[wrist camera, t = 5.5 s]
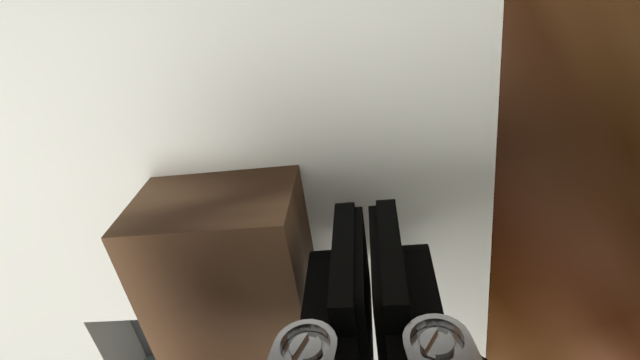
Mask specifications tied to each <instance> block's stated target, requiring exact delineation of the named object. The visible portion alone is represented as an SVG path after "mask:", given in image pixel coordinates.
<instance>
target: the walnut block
mask: <svg viewBox="0 0 640 360" xmlns="http://www.w3.org/2000/svg"><path fill="white" fill-rule="evenodd" d="M101 240H102V242H103V244H104V247H105V249H106V251H107V253H108V256H109V258H110V260H111V262H112V264H113V267H114V269H115V271H116V273H117V275H118V278H119V280H120V282H121V284H122V286H123V289H124V291H125V293H126V295H127V298H128V300H129V302H130V304H131V306H132V309H133V311H134V313H135V315H136V317H137V320H138V322H139V324H140V326H141V328H142V331H143V333H144V335H145V337H146V340H147V342H148V344H149V346H150V348H151V351H152V353H153V355H154V357H155V359H156V360H267V358H268V356H269V353H270V350H271V348H272V345H273V342H274V340H275V338H276V337H277V335H278V333H279V332H280V331H281V330H282V329H283V328H284V327H286V326H287V325H289V324H291V323H293V322H295V321H299V320H300V316H301V309H302V302H303V295H304V288H305V281H306V274H307V267H308V260H309V254H310V252H311V251H314V248H313V243H312V237H311V231H310V226H309V220H308V214H307V208H306V203H305V197H304V191H303V186H302V180H301V174H300V169H299V165H290V166H278V167H266V168H255V169H243V170H231V171H220V172H208V173H196V174H185V175H173V176H161V177H150V178H149V179H148V181H147V182H146V183H145V184H144V186H143V187H142V188H141V189H140V191H139V192H138V193H137V194H136V195H135V197H134V198H133V199H132V200H131V202H130V203H129V204H128V205H127V207H126V208H125V209H124V210H123V211H122V213H121V214H120V215H119V216H118V218H117V219H116V220H115V221H114V222H113V224H112V225H111V226H110V227H109V229H108V230H107V231H106V232H105V234H104V235H103V236H102V237H101Z"/></svg>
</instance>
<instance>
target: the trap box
mask: <svg viewBox="0 0 640 360" xmlns="http://www.w3.org/2000/svg"><path fill="white" fill-rule="evenodd" d="M503 8H504V0H0V360H156V359H155V357H154V355H153V353H152V351H151V348H150V346H149V344H148V342H147V340H146V337H145V335H144V333H143V331H142V328H141V326H140V324H139V322H138V320H137V317H136V315H135V313H134V311H133V309H132V306H131V304H130V302H129V300H128V298H127V295H126V293H125V291H124V289H123V286H122V284H121V282H120V280H119V278H118V275H117V273H116V271H115V269H114V267H113V264H112V262H111V260H110V258H109V256H108V253H107V251H106V249H105V247H104V244H103V242H102V240H101V237H102V236H103V235H104V234H105V232H106V231H107V230H108V229H109V227H110V226H111V225H112V224H113V222H114V221H115V220H116V219H117V218H118V216H119V215H120V214H121V213H122V211H123V210H124V209H125V208H126V207H127V205H128V204H129V203H130V202H131V200H132V199H133V198H134V197H135V195H136V194H137V193H138V192H139V191H140V189H141V188H142V187H143V186H144V184H145V183H146V182H147V181H148V179H149V178H150V177H161V176H173V175H185V174H196V173H208V172H220V171H231V170H243V169H255V168H266V167H278V166H290V165H299V169H300V174H301V180H302V186H303V191H304V197H305V203H306V208H307V214H308V220H309V226H310V231H311V237H312V243H313V248H314V251H321V250H331V246H332V233H333V220H334V207H335V203H347V202H354V203H355V207H362V208H363V217H364V226H365V236H366V245H367V254H368V264H369V273H370V283H371V259H370V235H369V211H368V206H375V205H376V200H386V199H395V201H396V208H397V216H398V223H399V230H400V237H401V244H402V245H415V244H428V245H429V249H430V253H431V258H432V262H433V267H434V271H435V276H436V280H437V285H438V289H439V294H440V298H441V303H442V307H443V312H444V315H448V316H450V317H453V318H455V319H457V320H458V321H460V322H461V323H462V324H464V325H465V326H466V328H467V329H468V331H469V332H470V334H471V336H472V338H473V340H474V342H475V344H476V346H477V348H478V350H479V353H480V355H481V356H483V357H484V358H486V339H487V319H488V300H489V280H490V261H491V242H492V222H493V203H494V183H495V164H496V144H497V125H498V106H499V86H500V67H501V47H502V28H503ZM371 302H372V283H371ZM372 327H373V353H374V360H378V353H377V344H376V335H375V325H374V316H373V304H372Z"/></svg>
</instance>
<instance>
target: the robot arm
mask: <svg viewBox="0 0 640 360" xmlns="http://www.w3.org/2000/svg"><path fill="white" fill-rule="evenodd" d="M368 211H369V235H370V259H371V283H372V302H371V283H370V273H369V264H368V254H367V245H366V236H365V226H364V217H363V208H362V207H355V203H354V202H347V203H335V207H334V220H333V233H332V246H331V250H321V251H311V252H310V254H309V260H308V267H307V274H306V281H305V288H304V295H303V302H302V309H301V316H300V320H299V321H295V322H293V323H291V324H289V325H287V326H286V327H284V328H283V329H282V330H281V331H280V332H279V333H278V335H277V337H276V338H275V340H274V342H273V345H272V348H271V350H270V353H269V356H268V358H267V360H374V353H373V327H372V304H373V316H374V325H375V335H376V344H377V353H378V360H487V359H486V358H484V357H483V356H481V355H480V353H479V350H478V348H477V346H476V344H475V342H474V340H473V338H472V336H471V334H470V332H469V331H468V329H467V328H466V326H465V325H464V324H462V323H461V322H460V321H458V320H457V319H455V318H453V317H450V316H448V315H444V312H443V307H442V303H441V298H440V294H439V289H438V285H437V280H436V276H435V271H434V267H433V262H432V258H431V253H430V249H429V245H428V244H415V245H402V244H401V237H400V230H399V223H398V216H397V208H396V201H395V199H386V200H376V205H375V206H368Z"/></svg>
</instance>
